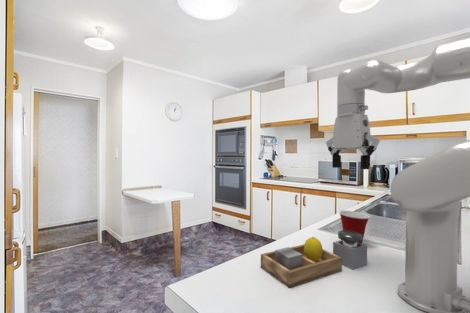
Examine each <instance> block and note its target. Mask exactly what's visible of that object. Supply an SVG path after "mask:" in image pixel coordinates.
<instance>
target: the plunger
mask: <svg viewBox="0 0 470 313" xmlns="http://www.w3.org/2000/svg"><path fill="white" fill-rule="evenodd" d="M337 237H338V239H339V240H343V245H345V246H348V247H350V248H354V247H357V242H361V241H362V234H360V233H358V232H355V231H349V230H343V229H342V230H338V231H337Z"/></svg>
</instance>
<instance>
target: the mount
mask: <svg viewBox="0 0 470 313" xmlns="http://www.w3.org/2000/svg"><path fill="white" fill-rule="evenodd" d="M332 253H333V254H335V255H337V256H340V257H342V267H343V266H344V267H346V268H347V269H349V270H356V269H359V268H362V267H366V266H367V265H368V245H366V244H365V243H364V244H363V243H362V244H361V243H358V242H357V247H354V248H350V247H348V246H345V245H343V240H341V239H339V240H336V241H332Z"/></svg>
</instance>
